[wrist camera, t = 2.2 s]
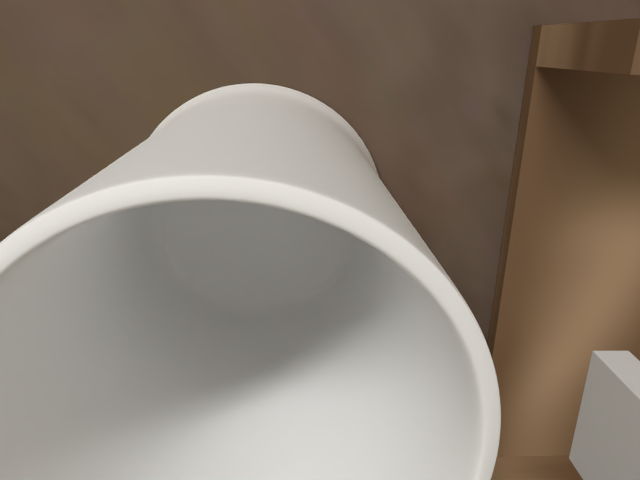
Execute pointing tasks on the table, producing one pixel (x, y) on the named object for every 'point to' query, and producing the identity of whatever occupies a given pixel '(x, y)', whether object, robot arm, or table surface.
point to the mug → (239, 315)
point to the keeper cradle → (567, 239)
